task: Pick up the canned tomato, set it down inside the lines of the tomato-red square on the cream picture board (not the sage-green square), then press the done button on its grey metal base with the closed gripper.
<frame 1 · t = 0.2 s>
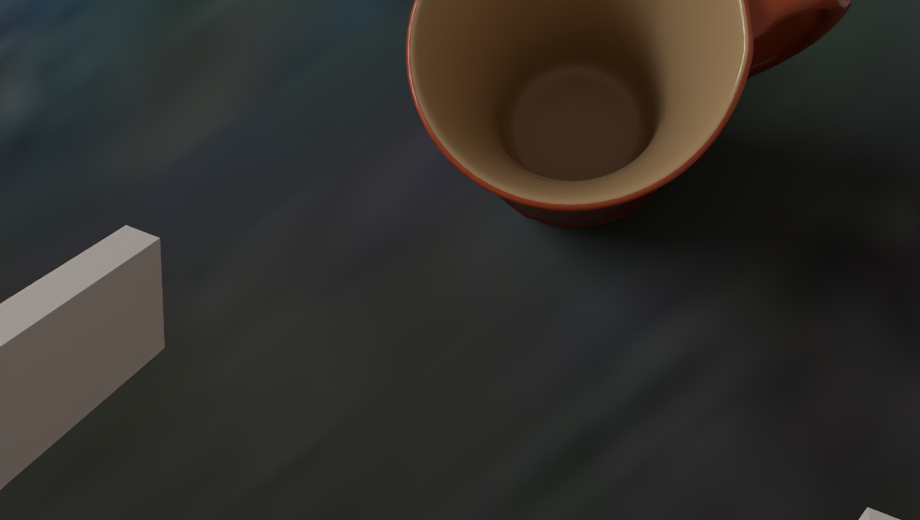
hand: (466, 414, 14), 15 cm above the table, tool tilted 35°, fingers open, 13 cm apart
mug: (618, 128, 30), on the table
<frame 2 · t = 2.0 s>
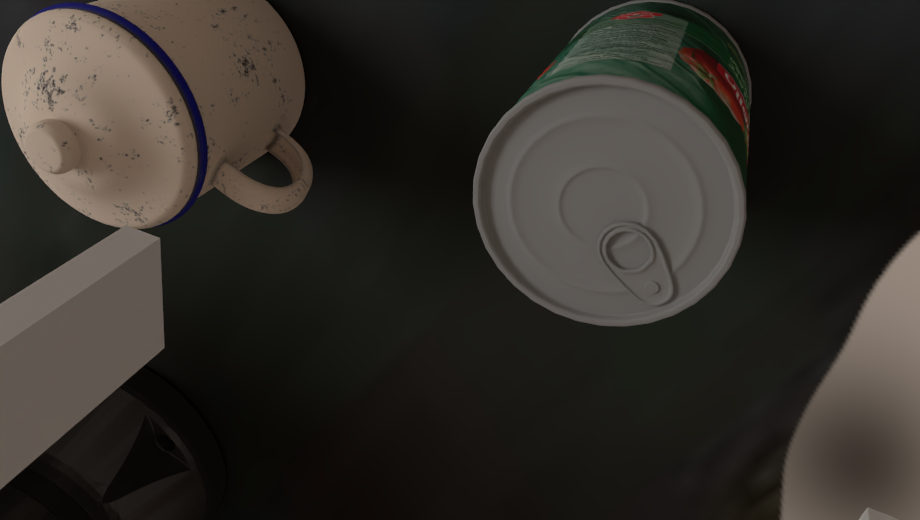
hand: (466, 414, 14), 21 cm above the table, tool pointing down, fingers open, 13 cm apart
canned tomato: (648, 97, 31), on the table
teacup with lid: (256, 83, 37), on the table
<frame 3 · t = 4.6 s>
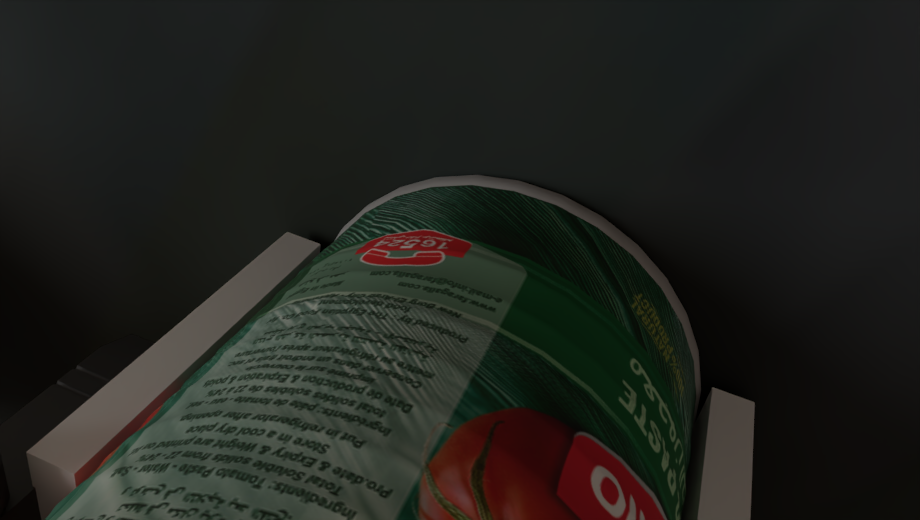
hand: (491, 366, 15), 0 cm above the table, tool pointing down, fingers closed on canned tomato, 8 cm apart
canned tomato: (499, 352, 15), on the table, touching gripper
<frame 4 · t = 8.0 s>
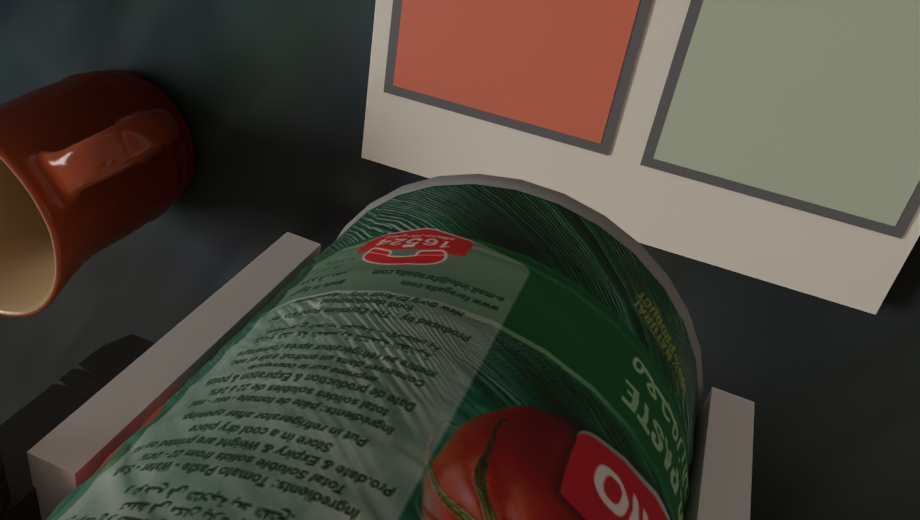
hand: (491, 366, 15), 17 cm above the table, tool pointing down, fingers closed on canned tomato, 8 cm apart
picture board: (660, 30, 28), on the table
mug: (167, 123, 38), on the table
canned tomato: (500, 351, 15), point 17 cm above the table, touching gripper
when the fingers open (3 cm above the table, at t = 11.7 s): canned tomato drops 1 cm, resting on picture board.
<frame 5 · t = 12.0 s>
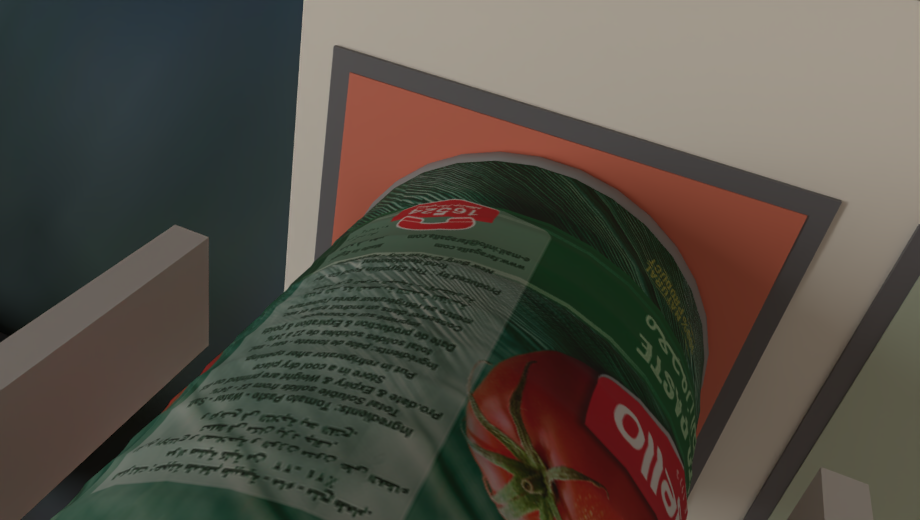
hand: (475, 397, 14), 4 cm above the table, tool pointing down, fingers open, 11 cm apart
picture board: (761, 382, 16), on the table
canned tomato: (517, 321, 16), point 1 cm above the table, touching picture board
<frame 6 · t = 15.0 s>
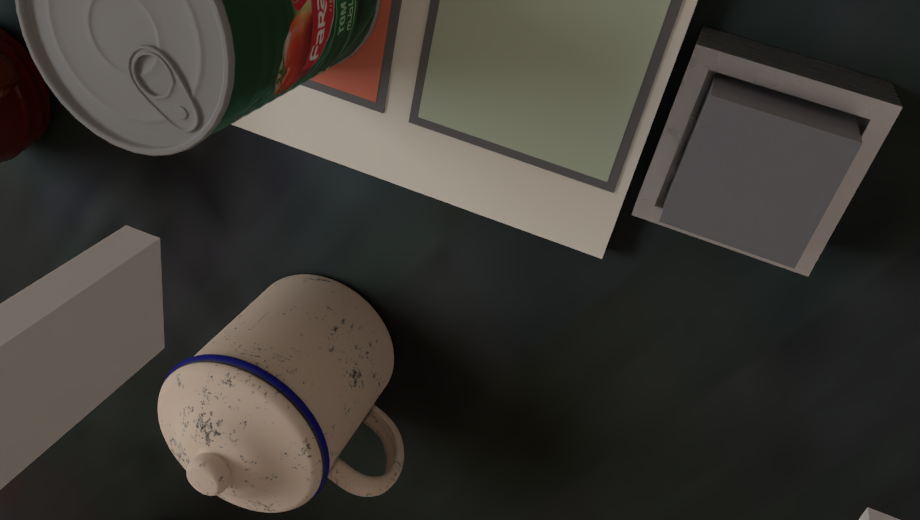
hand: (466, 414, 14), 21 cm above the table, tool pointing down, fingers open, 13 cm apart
picture board: (420, 5, 32), on the table
button base: (756, 138, 30), on the table
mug: (27, 72, 42), on the table
teacup with lid: (349, 350, 44), on the table
done button: (754, 168, 28), point 3 cm above the table, slide at 0.0 cm
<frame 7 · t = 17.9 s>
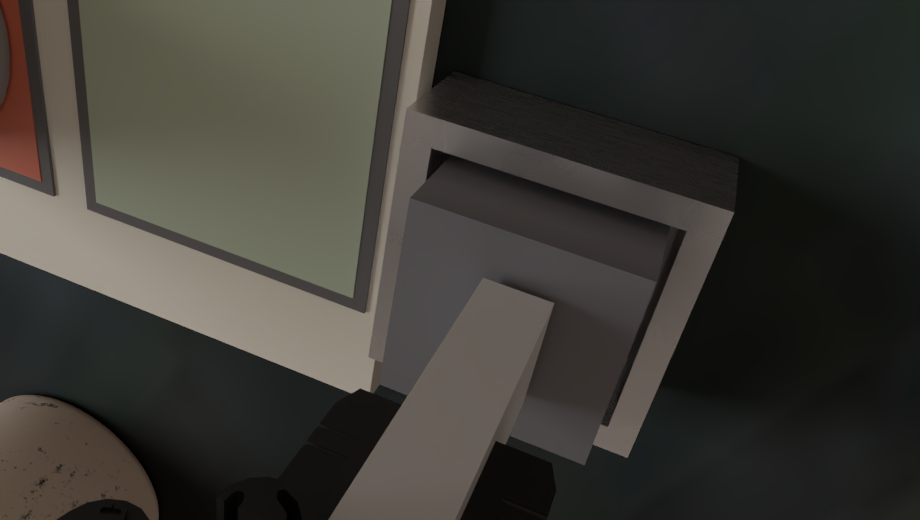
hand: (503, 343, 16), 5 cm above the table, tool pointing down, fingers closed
picture board: (79, 44, 22), on the table
button base: (554, 237, 20), on the table
teacup with lid: (109, 486, 33), on the table
done button: (521, 302, 17), point 3 cm above the table, slide at 0.0 cm, touching gripper
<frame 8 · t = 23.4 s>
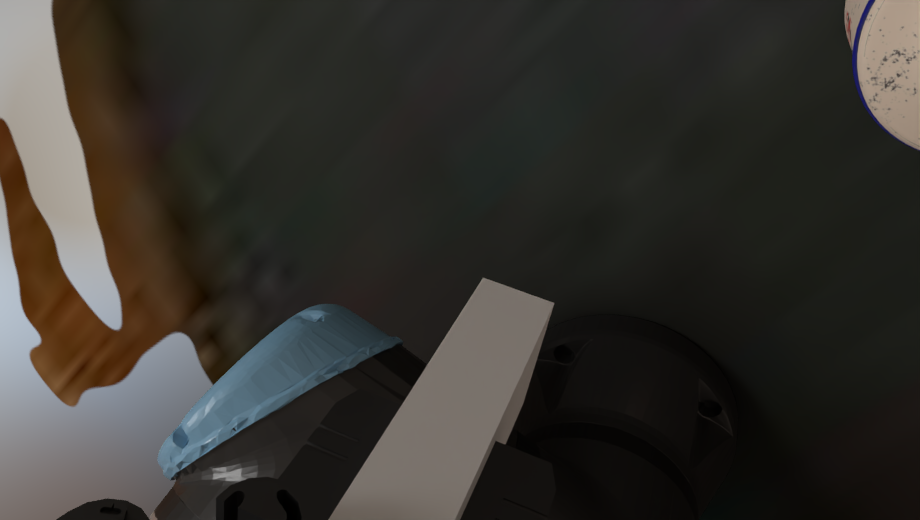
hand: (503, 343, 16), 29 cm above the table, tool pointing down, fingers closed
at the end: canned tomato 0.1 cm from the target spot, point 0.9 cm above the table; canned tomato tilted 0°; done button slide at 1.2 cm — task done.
